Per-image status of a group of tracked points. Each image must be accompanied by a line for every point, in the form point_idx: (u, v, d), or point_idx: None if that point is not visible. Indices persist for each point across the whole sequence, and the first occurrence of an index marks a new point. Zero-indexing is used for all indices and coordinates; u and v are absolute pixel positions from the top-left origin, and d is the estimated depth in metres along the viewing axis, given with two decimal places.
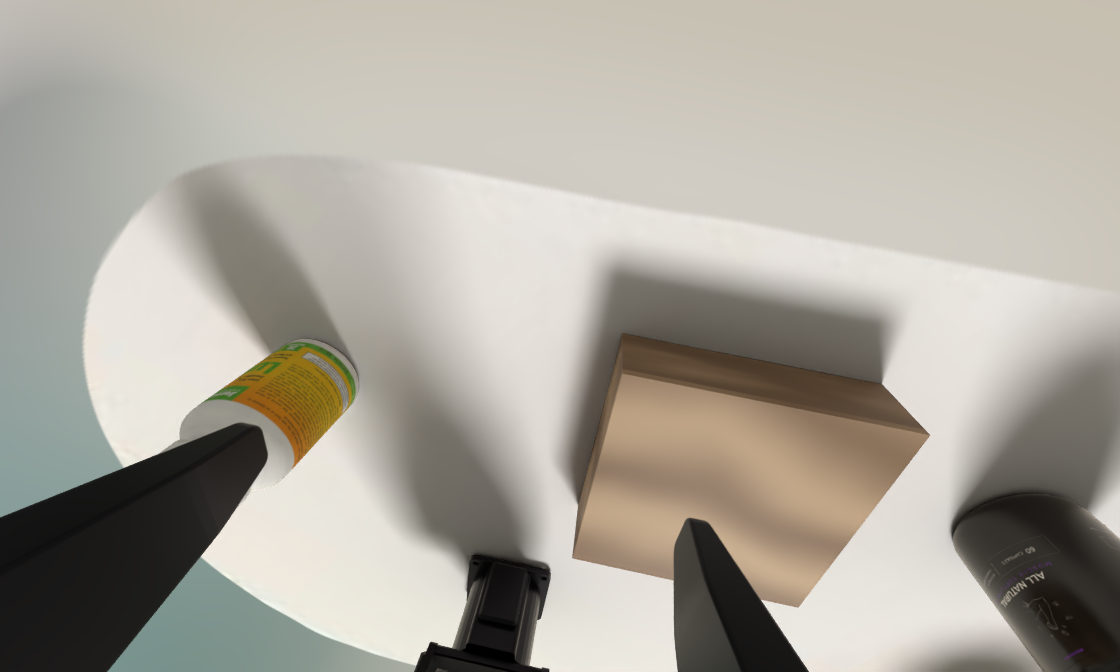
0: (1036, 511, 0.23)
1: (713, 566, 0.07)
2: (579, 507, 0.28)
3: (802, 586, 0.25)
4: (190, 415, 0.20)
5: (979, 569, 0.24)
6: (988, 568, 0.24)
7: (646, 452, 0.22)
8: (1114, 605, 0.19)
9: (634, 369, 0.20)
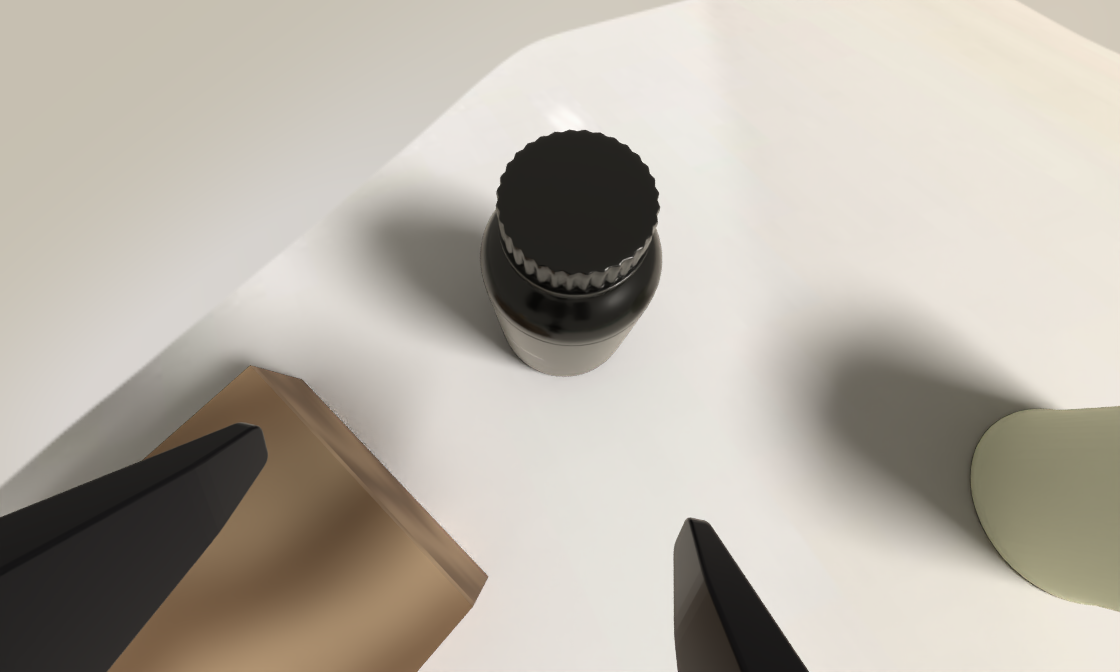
0: None
1: (713, 566, 0.07)
2: None
3: (426, 580, 0.17)
4: None
5: (538, 364, 0.20)
6: (525, 356, 0.20)
7: None
8: None
9: None
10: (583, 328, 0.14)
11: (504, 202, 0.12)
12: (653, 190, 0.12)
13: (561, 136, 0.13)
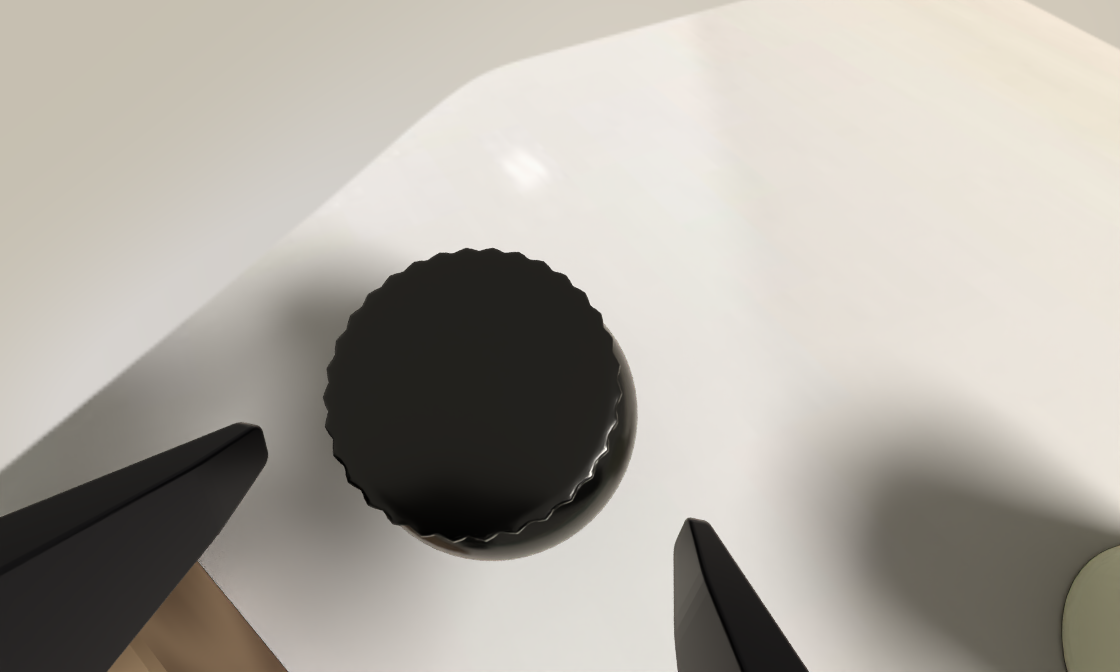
0: None
1: (713, 566, 0.07)
2: None
3: None
4: None
5: None
6: None
7: None
8: None
9: None
10: (510, 550, 0.09)
11: (337, 393, 0.07)
12: (610, 360, 0.07)
13: (450, 261, 0.07)
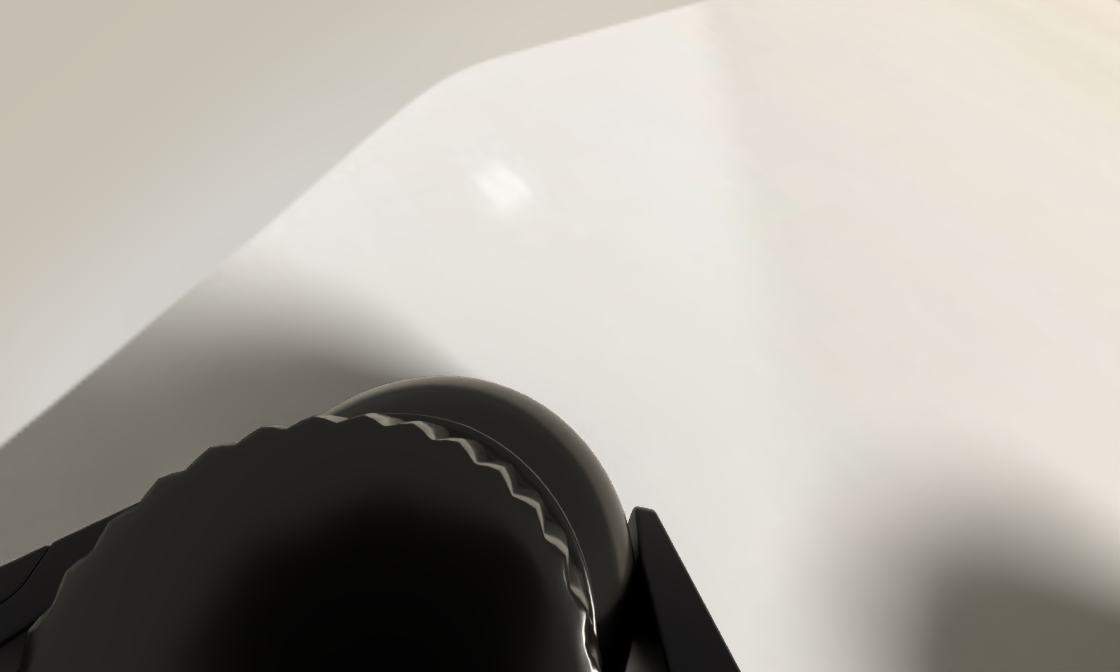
0: None
1: (651, 553, 0.07)
2: None
3: None
4: None
5: None
6: None
7: None
8: None
9: None
10: None
11: None
12: (581, 663, 0.03)
13: (278, 446, 0.04)
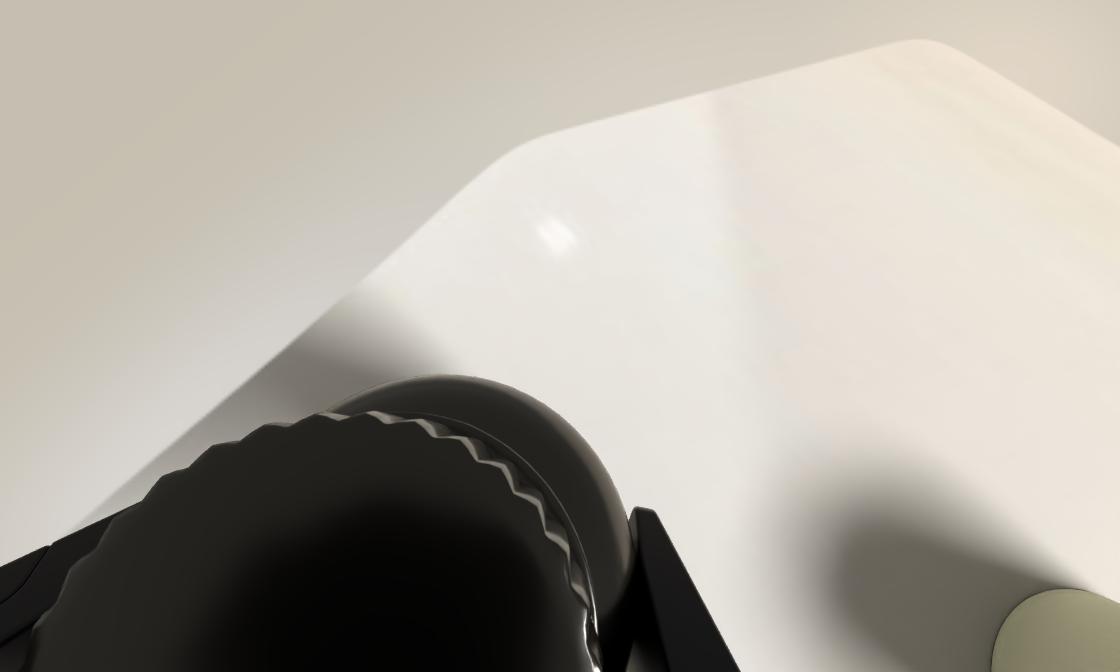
0: None
1: (651, 553, 0.07)
2: None
3: None
4: None
5: None
6: None
7: None
8: None
9: None
10: None
11: None
12: (582, 660, 0.03)
13: (279, 445, 0.04)
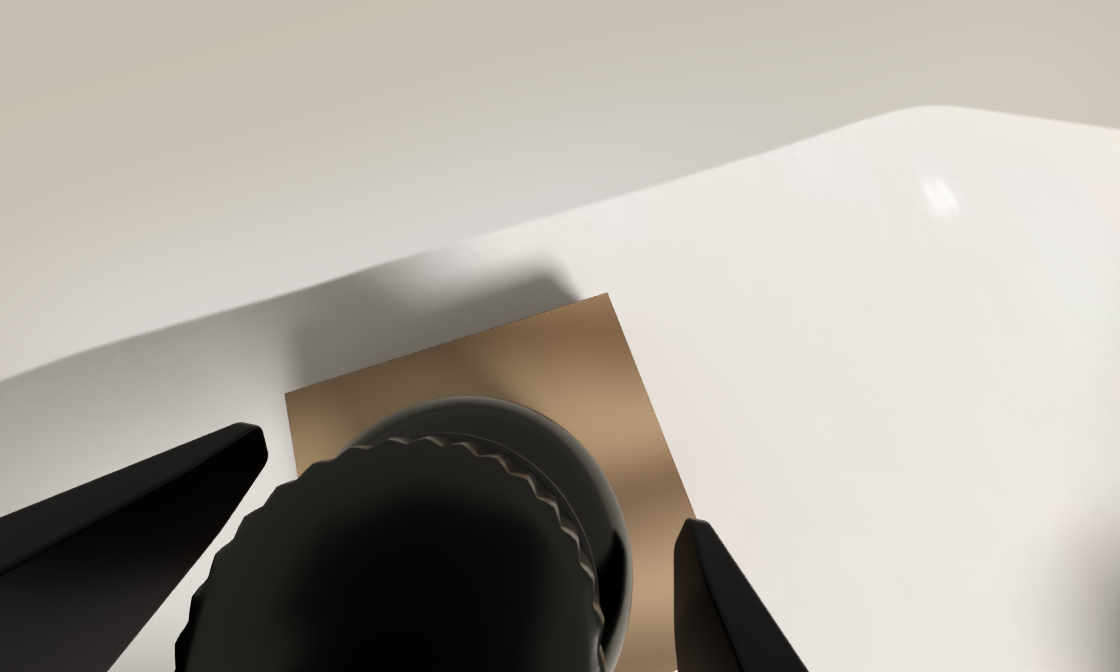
0: None
1: (713, 566, 0.07)
2: None
3: None
4: None
5: None
6: None
7: None
8: None
9: None
10: None
11: None
12: (589, 618, 0.05)
13: (363, 462, 0.05)
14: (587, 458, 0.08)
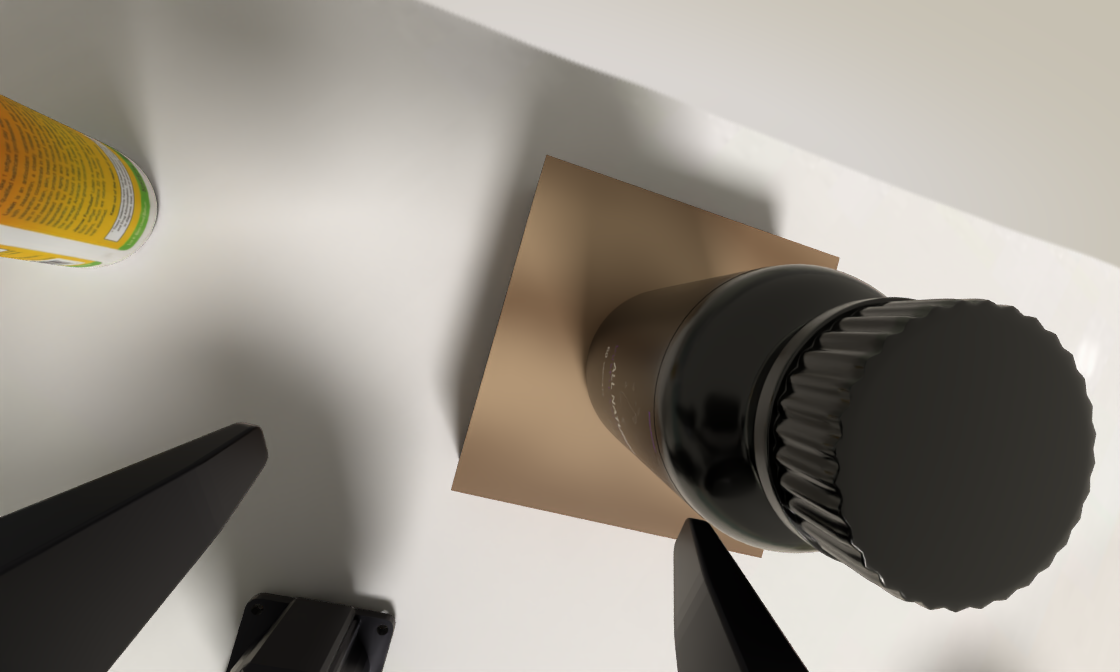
0: (614, 314, 0.16)
1: (713, 566, 0.07)
2: None
3: None
4: None
5: (613, 432, 0.15)
6: (607, 418, 0.15)
7: (569, 273, 0.17)
8: (655, 324, 0.11)
9: None
10: (759, 542, 0.09)
11: (867, 393, 0.06)
12: (1076, 510, 0.07)
13: (1019, 323, 0.06)
14: None
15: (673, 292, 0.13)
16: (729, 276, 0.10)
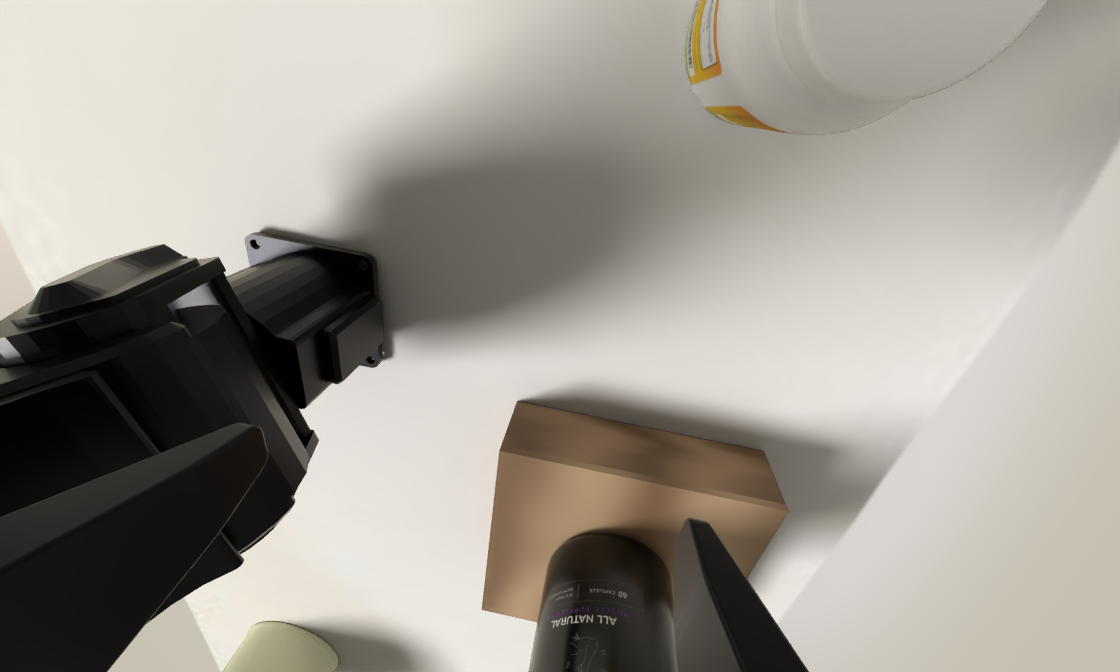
0: (651, 568, 0.21)
1: (713, 566, 0.07)
2: (531, 416, 0.23)
3: (513, 611, 0.27)
4: None
5: (562, 582, 0.20)
6: (573, 586, 0.20)
7: (683, 522, 0.21)
8: None
9: None
10: None
11: None
12: None
13: None
14: None
15: (669, 664, 0.18)
16: None
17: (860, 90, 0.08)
